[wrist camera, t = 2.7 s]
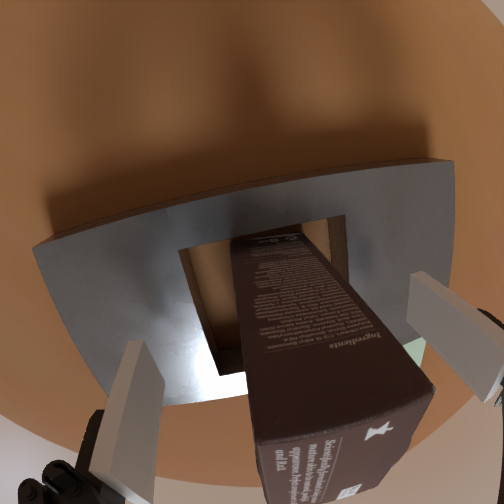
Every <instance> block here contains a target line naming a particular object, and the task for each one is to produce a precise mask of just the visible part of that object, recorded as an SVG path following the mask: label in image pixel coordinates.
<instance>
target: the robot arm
mask: <svg viewBox="0 0 504 504" xmlns="http://www.w3.org/2000/svg"><path fill="white" fill-rule="evenodd" d="M406 322H407V323H408V324H409V325H410V326H411V327H412V328H413V329H414V330H415V331H416V332H417V333H418V334H419V335H420V336H421V337H422V338H423V339H424V340H425V341H426V342H427V343H428V344H429V345H430V346H431V347H432V348H433V349H434V350H435V351H436V352H437V353H438V354H439V355H440V356H441V357H442V358H443V359H444V361H445V362H446V363H447V364H448V365H449V366H450V367H451V368H452V369H453V370H454V371H455V372H456V373H457V374H458V376H459V377H460V378H461V379H462V380H463V381H464V382H465V383H466V384H467V385H468V387H469V388H470V389H471V390H472V391H473V392H474V393H475V395H476V396H477V397H478V398H479V399H480V400H481V401H482V403H484V402H486V401H487V400H488V399H489V398H491V397H492V396H493V395H494V394H495V392H496V391H497V389H498V387H499V385H500V384H501V385H502V386H503V387H504V324H502V322H501V321H499V320H498V319H496V318H495V317H494V316H493V315H492V314H490V313H489V312H487V311H484V310H482V309H479V308H478V309H476V308H474V307H473V306H472V305H470V304H469V303H468V302H466V301H465V300H464V299H462V298H461V297H460V296H458V295H457V294H455V293H454V292H453V291H451V290H450V289H448V288H447V287H445V286H444V285H443V284H441V283H440V282H438V281H437V280H435V279H434V278H432V277H431V276H430V275H428V274H427V273H425V272H424V271H419V272H416V273H413V274H411V275H410V288H409V299H408V308H407V316H406ZM165 383H166V382H165V380H164V379H163V377H162V375H161V373H160V371H159V369H158V367H157V365H156V363H155V361H154V359H153V357H152V355H151V353H150V351H149V349H148V347H147V345H146V343H145V341H144V339H140V340H133V341H128V344H127V347H126V349H125V352H124V355H123V358H122V360H121V363H120V366H119V369H118V372H117V375H116V378H115V380H114V383H113V386H112V389H111V393H110V396H109V399H108V402H107V405H106V408H105V410H96V411H95V413H94V414H93V415H92V416H91V418H90V419H89V422H88V425H87V428H86V432H85V435H84V438H83V439H84V441H82V444H81V448H80V451H79V455H78V458H77V462H76V466H75V469H74V468H73V467H72V466H71V465H70V464H69V463H67V462H65V461H64V460H55V461H52V462H50V463H49V464H48V465H46V467H45V469H44V470H43V473H42V482H43V483H44V484H45V485H42V484H41V483H39V482H38V481H37V480H35V479H31V478H28V479H25V480H24V481H23V482H22V483H21V484H20V486H19V488H18V504H125V498H126V499H127V500H129V501H130V502H132V503H133V504H153V495H154V480H155V467H156V456H157V446H158V437H159V428H160V420H161V412H162V404H163V397H164V390H165ZM501 398H502V402H501V403H500V406H502V411H503V412H502V413H503V457H502V471H501V481H500V489H499V496H498V502H497V504H504V388H503V390H502V391H501V393H500V395H499V397H498V398H497V400H496V402H495V407H496V406H497V405H498V403H499V402H500V400H501Z"/></svg>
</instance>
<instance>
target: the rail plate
mask: <svg viewBox="0 0 504 504" xmlns="http://www.w3.org/2000/svg"><path fill="white" fill-rule="evenodd" d="M324 218H328V227H329V237H330V248H331V260H332V265H333V266H334V267H335V268H336V269H337V271H338V272H339V273H340V274H341V275H342V276H343V277H344V278H345V279H346V280H347V282H348V283H349V284H350V285H351V286H352V287H353V288H354V289H355V291H356V292H357V293H358V294H359V295H360V297H361V298H362V299H363V300H364V301H365V302H366V303H367V305H368V306H369V307H370V308H371V309H372V310H373V311H374V313H375V314H376V315H377V316H378V317H379V318H380V320H381V321H382V322H383V323H384V324H385V326H386V327H387V328H388V329H389V330H390V332H391V333H392V334H393V335H394V337H395V338H396V339H397V340H398V341H399V342H400V343H401V345H402V346H403V345H405V344H407V343H409V342H412V341H414V340H416V339H418V338H421V336H420V335H419V334H418V333H417V332H416V331H415V330H414V329H413V328H412V327H411V326H410V325H409V324H408V323H407V322H406V316H407V308H408V299H409V288H410V275H411V274H413V273H416V272H419V271H424V272H425V273H427V274H428V275H430V276H431V277H432V278H434V279H435V280H437V281H438V282H440V283H441V284H443V285H444V286H445V287H447V288H448V287H449V280H450V272H451V263H452V253H453V241H454V223H455V176H454V161H451V160H443V159H436V158H416V159H404V160H394V161H384V162H375V163H366V164H358V165H350V166H343V167H335V168H328V169H322V170H315V171H309V172H302V173H296V174H290V175H285V176H279V177H273V178H268V179H263V180H257V181H252V182H247V183H242V184H237V185H233V186H228V187H223V188H219V189H214V190H210V191H205V192H201V193H197V194H192V195H188V196H184V197H180V198H176V199H172V200H168V201H164V202H160V203H156V204H152V205H149V206H145V207H141V208H138V209H134V210H131V211H127V212H123V213H120V214H117V215H113V216H110V217H106V218H103V219H100V220H97V221H93V222H90V223H87V224H84V225H81V226H78V227H75V228H72V229H69V230H66V231H63V232H60V233H57V234H54V235H52V236H50V237H49V238H47V239H46V240H44V241H42V242H41V243H39V244H38V245H36V246H35V247H33V248H32V250H33V253H34V256H35V258H36V261H37V264H38V266H39V269H40V272H41V274H42V277H43V279H44V281H45V284H46V286H47V289H48V291H49V293H50V295H51V298H52V300H53V302H54V304H55V306H56V309H57V311H58V313H59V315H60V317H61V319H62V321H63V323H64V325H65V327H66V329H67V331H68V332H69V334H70V336H71V338H72V340H73V342H74V343H75V345H76V347H77V349H78V350H79V352H80V354H81V356H82V357H83V359H84V361H85V362H86V364H87V366H88V367H89V369H90V370H91V372H92V374H93V375H94V377H95V378H96V380H97V381H98V383H99V384H100V386H101V387H102V389H103V390H104V392H105V393H106V394H107V396H108V397H109V396H110V393H111V389H112V386H113V383H114V380H115V378H116V375H117V372H118V369H119V366H120V363H121V360H122V358H123V355H124V352H125V349H126V347H127V344H128V341H133V340H140V339H144V341H145V343H146V345H147V347H148V349H149V351H150V353H151V355H152V357H153V359H154V361H155V363H156V365H157V367H158V369H159V371H160V373H161V375H162V377H163V379H164V380H165V382H166V383H165V390H164V397H163V404H162V406H168V405H177V404H186V403H194V402H201V401H208V400H214V399H220V398H226V397H232V396H237V395H242V394H247V393H248V392H247V384H246V376H245V369H244V360H243V353H242V346H238V347H233V348H229V349H224V350H218V349H217V346H216V343H215V340H214V337H213V334H212V331H211V328H210V325H209V322H208V318H207V315H206V312H205V309H204V306H203V302H202V299H201V296H200V293H199V289H198V286H197V283H196V279H195V276H194V272H193V269H192V265H191V262H190V258H189V255H188V251H187V248H189V247H194V246H198V245H203V244H207V243H212V242H216V241H220V240H225V239H230V238H234V237H239V236H243V235H248V234H252V233H257V232H262V231H266V230H271V229H276V228H280V227H285V226H290V225H295V224H300V223H304V222H309V221H314V220H319V219H324Z"/></svg>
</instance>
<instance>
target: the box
mask: <svg viewBox="0 0 504 504" xmlns="http://www.w3.org/2000/svg"><path fill="white" fill-rule="evenodd" d="M230 253H231V263H232V271H233V281H234V288H235V299H236V305H237V312H238V320H239V327H240V336H241V345H242V353H243V360H244V369H245V376H246V384H247V392H248V398H249V406H250V413H251V421H252V429H253V437H254V444H255V454H256V463H257V469H258V473H259V476H260V478H261V482H262V486H263V491H264V496H265V499H266V502H267V504H322V503H327V502H330V501H334V500H337V499H341V498H345V497H348V496H351V495H354V494H357V493H360V492H363V491H366V490H368V489H372V488H374V487H376V486H378V484H379V483H380V482H381V480H382V479H383V478H384V476H385V475H386V474H387V472H388V471H389V470H390V468H391V467H392V466H393V465H394V464H395V463H397V462H398V461H399V460H400V458H401V457H402V456H403V455H404V454H405V452H406V451H407V449H408V448H409V446H410V443H411V438H412V435H413V433H414V431H415V430H416V428H417V426H418V424H419V422H420V421H421V419H422V417H423V415H424V413H425V411H426V409H427V407H428V406H429V404H430V402H431V400H432V398H433V396H434V393H435V390H436V388H435V386H434V385H433V384H432V383H431V382H430V381H429V379H428V378H427V376H426V375H425V374H424V372H423V371H422V370H421V369H420V368H419V366H418V365H417V364H416V363H415V361H414V360H413V359H412V358H411V356H410V355H409V354H408V352H407V351H406V350H405V348H404V347H403V346H402V345H401V343H400V342H399V341H398V340H397V339H396V338H395V337H394V335H393V334H392V333H391V332H390V330H389V329H388V328H387V327H386V326H385V324H384V323H383V322H382V321H381V320H380V318H379V317H378V316H377V315H376V314H375V313H374V311H373V310H372V309H371V308H370V307H369V306H368V305H367V303H366V302H365V301H364V300H363V299H362V298H361V297H360V295H359V294H358V293H357V292H356V291H355V289H354V288H353V287H352V286H351V285H350V284H349V283H348V282H347V280H346V279H345V278H344V277H343V276H342V275H341V274H340V273H339V272H338V271H337V269H336V268H335V267H334V266H333V265H332V264H331V263H330V262H329V261H328V259H327V258H326V257H325V256H324V255H323V254H322V253H321V252H320V251H319V250H318V248H317V247H316V246H315V245H314V244H313V243H312V242H311V241H310V240H309V239H308V238H307V237H306V236H305V234H304V233H288V234H284V235H275V236H267V237H261V238H253V239H246V240H238V241H232V242H230Z"/></svg>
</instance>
